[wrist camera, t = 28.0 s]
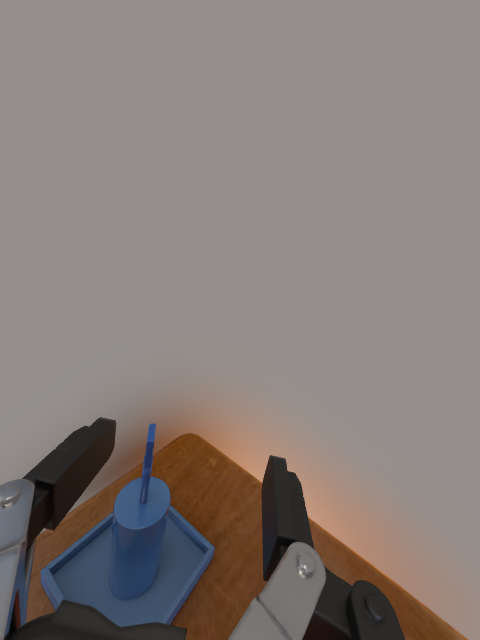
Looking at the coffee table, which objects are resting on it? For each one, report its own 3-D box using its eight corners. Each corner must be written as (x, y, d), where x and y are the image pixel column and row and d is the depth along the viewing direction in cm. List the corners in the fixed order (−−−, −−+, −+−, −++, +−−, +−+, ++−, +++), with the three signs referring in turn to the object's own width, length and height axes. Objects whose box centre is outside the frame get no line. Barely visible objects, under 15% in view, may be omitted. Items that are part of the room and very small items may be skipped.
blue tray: (110, 718, 20) (111, 705, 20) (40, 582, 27) (40, 570, 26) (212, 557, 32) (215, 547, 32) (146, 492, 39) (147, 482, 38)
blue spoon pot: (159, 593, 27) (181, 453, 23) (101, 606, 26) (113, 457, 21) (161, 535, 33) (180, 413, 28) (114, 543, 31) (125, 413, 26)
